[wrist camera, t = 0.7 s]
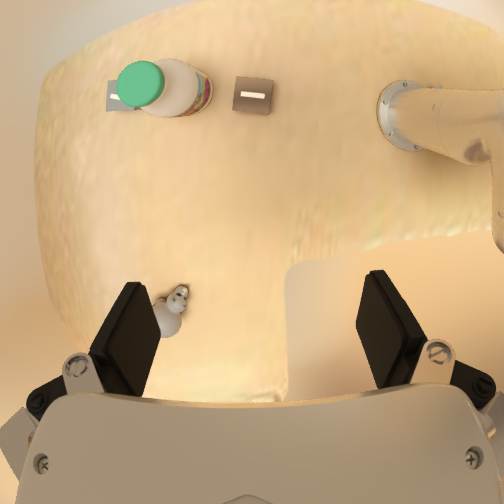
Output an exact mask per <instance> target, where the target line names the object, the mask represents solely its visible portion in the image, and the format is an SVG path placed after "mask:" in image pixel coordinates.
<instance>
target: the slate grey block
mask: <svg viewBox="0 0 504 504" xmlns="http://www.w3.org/2000/svg"><path fill="white" fill-rule="evenodd" d="M116 84H117V80H113V81H108V89H107V102H106V112H107V111H120V110H137V109H141V108H140V107H130V106H128V105H126V104H124V103H123V102H122V101H121V100H120V99H119V97H118V95H117V91H116Z"/></svg>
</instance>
